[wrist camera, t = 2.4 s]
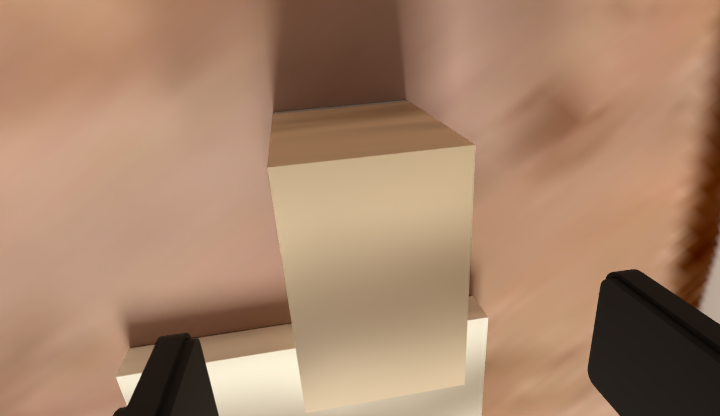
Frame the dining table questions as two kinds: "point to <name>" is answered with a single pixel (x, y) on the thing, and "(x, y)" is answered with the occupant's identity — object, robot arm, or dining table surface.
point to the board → (283, 385)
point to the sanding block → (373, 248)
